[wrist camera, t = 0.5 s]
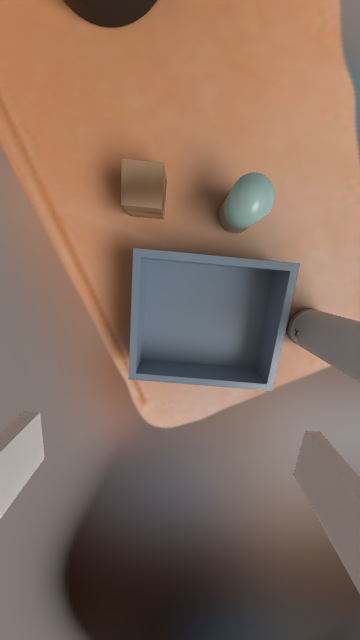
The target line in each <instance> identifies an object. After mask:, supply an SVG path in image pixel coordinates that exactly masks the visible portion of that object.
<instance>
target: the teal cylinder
mask: <svg viewBox="0 0 360 640" xmlns="http://www.w3.org/2000/svg"><path fill="white" fill-rule="evenodd" d="M274 199H275V191H274V187H273V185H272V183H271V181H270V180H269V179H268V178H267V177H266V176H265V175H263V174H260V173H249V174H246V175H244V176H242V177H241V178H240V179H239V180H238V181H237V182H236V183H235V185H234V186H233V188H232V190H231V191H230V193H229V195H228V196H227V198H226V199H225V201H224V203H223V204H222V206H221V208H220V212H219V220H220V223H221V225H222V227H223V228H224V229H225V230H226V231H228V232H231V233H240V232H242V231H244V230H246V229H247V228H249V227H250V226H252V225H253V224H254V223H256V222H257V221H259V220H260V219H262V218H263V217H265V216H266V215H267V214H268V213H269V211H270V210H271V208H272V206H273V203H274Z"/></svg>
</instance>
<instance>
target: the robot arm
mask: <svg viewBox="0 0 360 640" xmlns="http://www.w3.org/2000/svg"><path fill="white" fill-rule="evenodd" d="M156 1H157V0H65V2H66V3H67V4H68V5H69V6H70V7H71V8H72V9H73V10H74V11H75V12H76V13H77V14H79V15H80V16H81V17H83V18H84V19H86V20H88V21H90V22H92V23H95V24H97V25H101V26H107V27H117V26H123V25H127V24H130V23H132V22H134V21H136V20H138V19H139V18H141V17H142V16H143V15H145V14H146V13H147V12H148V11H149V10H150V9H151V8H152V7H153V5H154V4H155V3H156ZM43 459H44V450H43V440H42V428H41V418H40V412H27V411H24V412H23V413H22V414H21V415H19V416H18V417H17V418H16V419H15V420H14V421H13V422H12V423H11V424H9V425H8V426H7V427H6V428H5V429H4V430H3V431H2V432H1V433H0V518H1V517H2V515H3V514H4V513H5V512H6V510H7V509H8V507H9V506H10V505H11V503H12V502H13V501H14V499H15V498H16V496H17V495H18V493H19V492H20V491H21V490H22V488H23V487H24V485H25V484H26V483H27V481H28V480H29V478H30V477H31V476H32V474H33V473H34V471H35V470H36V469H37V467H38V466H39V465H40V463H41V462H42V461H43ZM294 476H295V478H296V480H297V482H298V483H299V485H300V487H301V489H302V491H303V492H304V494H305V496H306V498H307V500H308V501H309V503H310V505H311V507H312V509H313V510H314V512H315V514H316V516H317V518H318V519H319V521H320V523H321V525H322V526H323V528H324V530H325V532H326V534H327V536H328V537H329V539H330V541H331V543H332V545H333V546H334V548H335V550H336V552H337V553H338V555H339V557H340V559H341V561H342V563H343V564H344V566H345V568H346V569H347V572H348V573H349V575H350V577H351V579H352V581H353V582H354V584H355V586H356V588H357V590H358V591H359V593H360V477H359V476H358V475H357V474H356V472H355V471H354V470H353V469H352V468H351V467H350V466H349V464H348V463H347V462H346V461H345V460H344V459H343V457H342V456H341V455H340V454H339V453H338V452H337V451H336V449H335V448H334V447H333V446H332V445H331V444H330V443H329V442H328V440H327V439H326V438H325V437H324V436H323V434H322V433H321V432H314V431H305V434H304V437H303V441H302V445H301V448H300V452H299V456H298V460H297V463H296V467H295V471H294Z"/></svg>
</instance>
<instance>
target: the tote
mask: <svg viewBox="0 0 360 640" xmlns="http://www.w3.org/2000/svg"><path fill="white" fill-rule="evenodd" d="M299 266H300V264H299V263H289V262H278V261H267V260H257V259H246V258H236V257H225V256H214V255H204V254H193V253H182V252H172V251H161V250H150V249H140V248H133V269H132V297H131V325H130V353H129V379H131V380H144V381H156V382H168V383H181V384H193V385H205V386H218V387H230V388H242V389H255V390H267V391H273V387H274V382H275V378H276V373H277V368H278V364H279V359H280V354H281V350H282V345H283V341H284V336H285V331H286V327H287V322H288V317H289V313H290V308H291V304H292V299H293V294H294V290H295V285H296V280H297V276H298V271H299Z"/></svg>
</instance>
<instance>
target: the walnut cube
mask: <svg viewBox="0 0 360 640" xmlns="http://www.w3.org/2000/svg"><path fill="white" fill-rule="evenodd" d="M166 182H167V180H166V173H165V166H164V163H161V162H152V161H142V160H133V159H123V158H122V168H121V206H122V207H123V208H124V209H125V210H126V212H127V213H128V214H129V215H130V216H137V217H147V218H157V219H164V213H165V197H166Z"/></svg>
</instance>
